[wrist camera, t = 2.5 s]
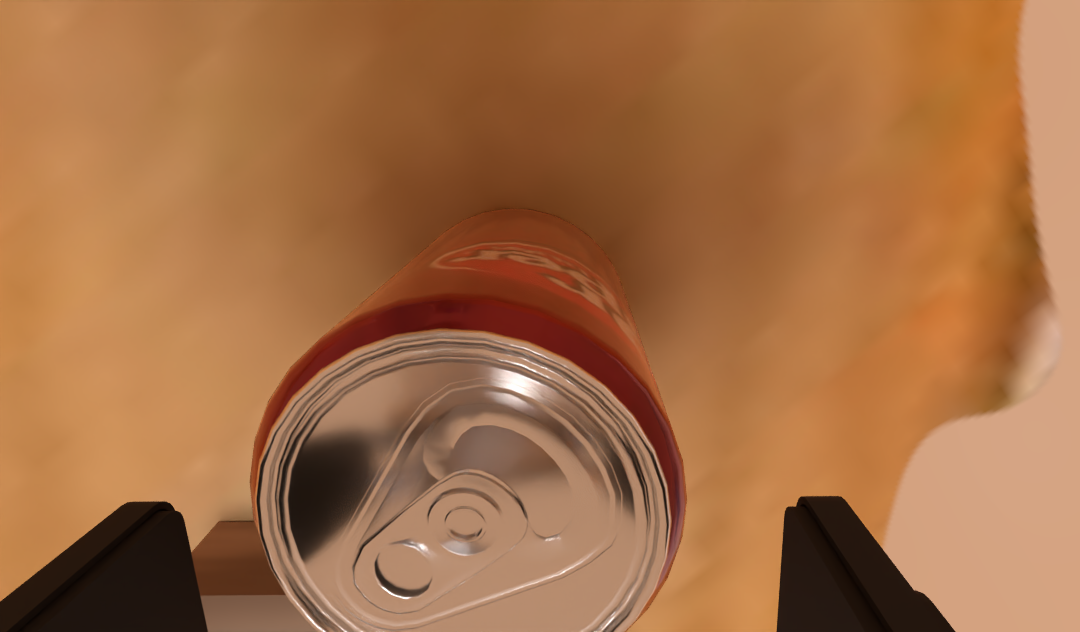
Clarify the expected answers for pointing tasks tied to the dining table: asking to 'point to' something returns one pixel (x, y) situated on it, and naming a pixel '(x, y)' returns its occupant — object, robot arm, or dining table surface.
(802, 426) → the dining table surface
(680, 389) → the dining table surface
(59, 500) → the dining table surface
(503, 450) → the soda can
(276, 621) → the pedestal
